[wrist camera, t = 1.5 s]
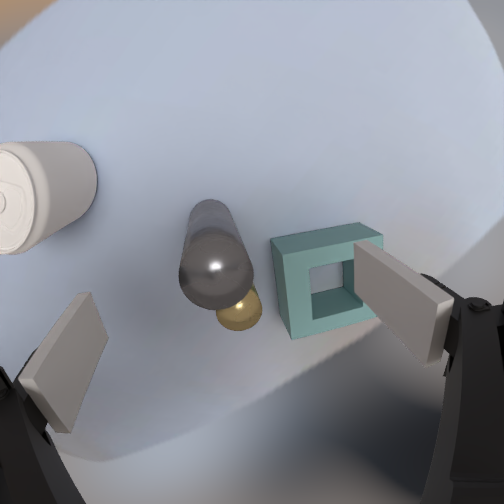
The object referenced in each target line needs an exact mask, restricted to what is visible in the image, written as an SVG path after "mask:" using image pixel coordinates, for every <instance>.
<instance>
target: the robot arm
mask: <svg viewBox="0 0 504 504" xmlns="http://www.w3.org/2000/svg"><path fill="white" fill-rule="evenodd" d="M353 245H354V292H355V293H356V294H357V295H358V296H359V297H360V298H361V300H362V301H363V302H364V303H365V304H366V305H367V306H368V307H369V308H370V309H371V310H372V311H373V312H374V313H375V314H376V315H377V316H378V317H379V319H380V320H381V321H382V322H383V323H384V324H385V325H386V326H387V327H388V328H389V329H390V330H391V331H392V332H393V334H394V335H395V336H396V337H397V338H398V339H399V340H400V341H401V342H402V343H403V344H404V345H405V347H407V349H408V350H409V351H410V352H411V353H412V354H413V355H414V357H415V358H416V359H417V360H418V361H419V362H420V363H421V364H422V365H423V367H424V368H427V367H429V366H432V365H434V364H436V363H438V362H440V361H441V357H442V353H443V350H444V349H445V350H446V351H447V352H448V353H449V358H448V361H447V365H446V368H445V372H444V375H443V376H445V377H446V383H445V392H444V400H443V407H442V413H441V420H440V426H439V431H438V436H437V441H436V446H435V450H434V455H433V459H432V463H431V468H430V471H429V475H428V479H427V482H426V486H425V489H424V492H423V495H422V499H421V502H420V504H504V302H503V304H502V305H496V306H492V305H491V304H490V303H489V302H488V301H487V300H484V299H482V298H477V297H470V298H467V299H464V298H462V297H461V296H459V295H458V294H457V293H455V292H454V291H452V290H451V289H449V288H448V287H446V286H445V285H443V284H442V283H440V282H439V281H438V280H436V279H435V278H433V277H431V276H428V275H425V274H422V273H421V274H419V273H417V272H416V271H414V270H413V269H411V268H410V267H408V266H407V265H405V264H404V263H402V262H401V261H399V260H398V259H396V258H395V257H393V256H392V255H390V254H389V253H387V252H385V251H384V250H382V249H381V248H379V247H378V246H376V245H374V244H373V243H371V242H370V241H368V240H363V241H358V242H353ZM107 341H108V335H107V333H106V331H105V328H104V326H103V323H102V321H101V318H100V316H99V313H98V311H97V308H96V306H95V303H94V300H93V298H92V295H91V292H85V293H79V294H77V295H76V297H75V298H74V299H73V301H72V302H71V303H70V305H69V306H68V307H67V308H66V310H65V311H64V312H63V314H62V315H61V316H60V318H59V319H58V320H57V322H56V323H55V325H54V326H53V327H52V329H51V330H50V331H49V333H48V334H47V336H46V337H45V339H44V340H43V341H42V343H41V344H40V346H39V347H38V348H37V349H36V350H35V351H33V353H32V354H31V356H30V357H29V358H28V361H26V363H25V364H24V367H22V369H21V371H20V372H19V374H18V375H17V377H16V378H15V380H14V382H13V383H12V382H11V380H10V379H9V377H8V376H7V374H6V372H5V371H4V369H3V367H1V366H0V504H86V503H85V501H84V500H83V498H82V496H81V494H80V493H79V491H78V489H77V488H76V486H75V484H74V483H73V481H72V479H71V477H70V475H69V473H68V472H67V470H66V468H65V466H64V464H63V462H62V460H61V458H60V456H59V454H58V452H57V450H56V448H55V445H54V443H53V441H52V439H51V437H50V435H49V433H48V432H47V431H46V430H45V428H46V425H47V423H49V424H50V426H51V427H52V428H53V429H54V431H55V432H57V433H71V432H72V429H73V426H74V423H75V421H76V418H77V415H78V412H79V409H80V407H81V404H82V401H83V399H84V396H85V394H86V391H87V388H88V386H89V383H90V381H91V378H92V376H93V373H94V371H95V369H96V366H97V364H98V361H99V359H100V357H101V354H102V352H103V350H104V347H105V345H106V343H107Z"/></svg>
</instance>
